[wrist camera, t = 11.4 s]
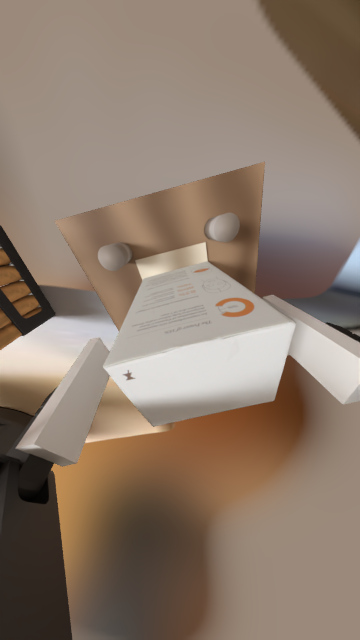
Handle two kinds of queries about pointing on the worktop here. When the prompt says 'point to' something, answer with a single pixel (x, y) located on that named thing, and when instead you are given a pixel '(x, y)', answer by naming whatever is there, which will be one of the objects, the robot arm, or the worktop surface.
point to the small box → (198, 346)
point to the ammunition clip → (18, 296)
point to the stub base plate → (169, 235)
